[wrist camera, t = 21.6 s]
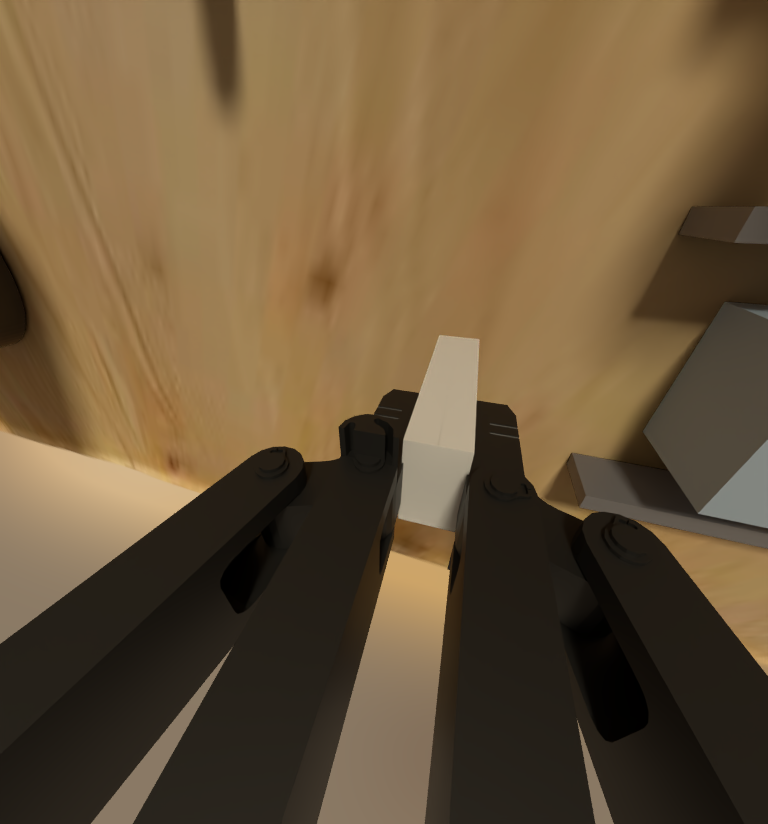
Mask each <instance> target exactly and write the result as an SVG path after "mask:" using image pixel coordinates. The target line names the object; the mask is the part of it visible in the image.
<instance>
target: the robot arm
mask: <svg viewBox="0 0 768 824" xmlns="http://www.w3.org/2000/svg"><path fill="white" fill-rule="evenodd" d="M25 325H26V321H25V312H24V308H23V304H22V300H21V297H20V294H19V292H18V289H17V287H16V284H15V282H14V280H13V278H12V276H11V274H10V272H9V270H8V268H7V266H6V264H5V262H4V260H3V259H2V257H1V255H0V347H4V346H7V345H11V344H14V343H16V342H18V341H19V340H20V339H21V338H22V337H23V335H24V332H25ZM478 358H479V339H472V338H462V337H453V336H444V335H439V338H438V341H437V344H436V347H435V350H434V352H433V355H432V358H431V361H430V364H429V367H428V370H427V373H426V376H425V378H424V381H423V384H422V387H421V390H420V393H415V392H409V391H402V390H395V389H393V390H392V391H390V392H389V393H388V394H386V395H385V396H383V398H382V400H381V402H380V404H379V406H378V407H377V409H376V411H375V413H374V415H371V414H364V415H359V416H354V417H352V418H350V419H348V420H345V421H344V422H343V423H342V424H341V425H340V426H339V437H340V448H341V457H340V458H339V459H336V460H331V461H322V462H304V460H303V458H302V455H301V454H300V453H299V452H298V451H296V450H295V449H293V448H289V447H272V448H268V449H265V450H261V451H260V452H258V453H256V454H254V455H253V456H251V457H250V458H248V459H247V460H246V461H244V462H243V463H242V464H240V465H239V466H238V467H236V468H235V469H234V470H232V471H231V472H230V473H228V474H227V475H226V476H224V477H223V478H222V479H220V480H219V481H218V482H216V483H215V484H214V485H212V486H211V487H210V488H208V489H207V490H206V491H204V492H203V493H202V494H200V495H199V496H198V497H196V498H195V499H194V500H192V501H191V502H190V503H188V504H187V505H186V506H184V507H183V508H182V509H180V510H179V511H177V512H176V513H175V514H174V515H172V516H171V517H170V518H168V519H167V520H165V521H164V522H163V523H161V524H160V525H159V526H157V527H156V528H155V529H153V530H152V531H151V532H149V533H148V534H147V535H145V536H144V537H143V538H141V539H140V540H139V541H137V542H136V543H135V544H133V545H132V546H131V547H129V548H128V549H127V550H125V551H124V552H123V553H121V554H120V555H119V556H117V557H116V558H115V559H113V560H112V561H111V562H109V563H108V564H107V565H105V566H104V567H103V568H101V569H100V570H99V571H97V572H96V573H95V574H93V575H92V576H91V577H90V578H88V579H87V580H85V581H84V582H83V583H81V584H80V585H79V586H77V587H76V588H75V589H73V590H72V591H71V592H69V593H68V594H67V595H65V596H64V597H63V598H61V599H60V600H59V601H57V602H56V603H55V604H53V605H52V606H51V607H49V608H48V609H46V610H45V611H44V612H42V613H41V614H40V615H39V616H37V617H36V618H34V619H33V620H32V621H30V622H29V623H28V624H27V625H25V626H24V627H23V628H21V629H20V630H18V631H17V632H16V633H14V634H13V635H12V636H10V637H9V638H8V639H6V640H5V641H4V642H2V643H1V644H0V824H91V822H92V821H93V820H94V819H95V817H96V816H97V815H98V814H99V812H100V811H101V810H102V809H103V807H104V806H105V805H106V804H107V802H108V801H109V800H110V799H111V798H112V796H113V795H114V794H115V793H116V791H117V790H118V789H119V788H120V786H121V785H122V784H123V783H124V781H125V780H126V779H127V778H128V776H129V775H130V774H131V773H132V771H133V770H134V769H135V768H136V766H137V765H138V764H139V763H140V761H141V760H142V759H143V758H144V756H145V755H146V754H147V753H148V751H149V750H150V749H151V748H152V746H153V745H154V744H155V743H156V741H157V740H158V739H159V738H160V736H161V735H162V734H163V733H164V732H165V730H166V729H167V728H168V726H169V725H170V724H171V723H172V722H173V720H174V719H175V718H176V717H177V715H178V714H179V713H180V712H181V710H182V709H183V708H184V707H185V705H186V704H187V703H188V702H189V700H190V699H191V698H192V697H193V695H194V694H195V693H196V692H197V690H198V689H199V688H200V687H201V685H202V684H203V683H204V682H205V680H206V679H207V678H208V677H209V676H210V674H211V673H212V672H213V670H214V669H215V668H216V667H217V665H218V664H219V663H220V662H221V661H222V659H223V658H224V657H225V656H226V654H227V653H228V652H229V651H230V649H231V648H232V647H233V648H232V650H231V652H230V653H229V655H228V657H227V659H226V660H225V662H224V664H223V665H222V667H221V669H220V671H219V673H218V674H217V676H216V678H215V680H214V681H213V684H212V685H211V687H210V689H209V690H208V692H207V694H206V696H205V697H204V699H203V701H202V703H201V705H200V706H199V708H198V710H197V711H196V713H195V715H194V717H193V719H192V720H191V722H190V724H189V726H188V727H187V729H186V731H185V733H184V734H183V736H182V738H181V740H180V741H179V743H178V745H177V747H176V748H175V750H174V752H173V754H172V756H171V757H170V759H169V761H168V763H167V764H166V766H165V768H164V770H163V772H162V773H161V775H160V777H159V779H158V780H157V782H156V784H155V786H154V787H153V789H152V791H151V793H150V795H149V796H148V798H147V800H146V801H145V803H144V805H143V807H142V809H141V811H140V812H139V814H138V816H137V817H136V819H135V821H134V823H133V824H317V820H318V816H319V813H320V809H321V806H322V802H323V798H324V794H325V791H326V787H327V783H328V779H329V776H330V772H331V768H332V765H333V761H334V757H335V754H336V750H337V746H338V743H339V739H340V735H341V732H342V728H343V724H344V720H345V717H346V713H347V709H348V706H349V701H350V698H351V694H352V691H353V687H354V683H355V680H356V675H357V672H358V669H359V665H360V661H361V657H362V654H363V650H364V646H365V643H366V639H367V635H368V632H369V628H370V624H371V620H372V617H373V613H374V609H375V605H376V602H377V598H378V594H379V591H380V587H381V583H382V580H383V576H384V572H385V569H386V565H387V561H388V557H389V554H390V550H391V546H392V543H393V539H394V526H395V522H396V518H397V515H398V518H399V519H403V520H407V521H411V522H415V523H419V524H423V525H428V526H432V527H436V528H440V529H444V530H448V531H452V532H455V530H456V533H455V541H454V545H453V549H452V553H451V557H450V561H449V565H448V570H450V575H449V585H448V595H447V605H446V615H445V625H444V635H443V646H442V657H441V666H440V677H439V687H438V696H437V706H436V717H435V726H434V727H435V728H434V736H433V746H432V757H431V767H430V777H429V787H428V797H427V808H426V817H425V824H595V820H594V814H593V808H592V803H591V797H590V791H589V786H588V780H587V774H586V769H585V764H584V757H583V751H582V746H581V740H580V735H579V729H578V723H579V726H580V728H581V731H582V734H583V737H584V739H585V743H586V745H587V748H588V751H589V754H590V757H591V760H592V762H593V765H594V768H595V771H596V774H597V776H598V779H599V782H600V785H601V788H602V791H603V794H604V797H605V799H606V802H607V805H608V808H609V811H610V814H611V817H612V819H613V822H614V824H768V676H767V675H766V673H765V672H764V671H763V670H762V668H761V667H760V666H759V664H758V663H757V662H756V661H755V659H754V658H753V657H752V655H751V654H750V653H749V652H748V650H747V649H746V648H745V647H744V645H743V644H742V643H741V641H740V640H739V639H738V638H737V636H736V635H735V634H734V633H733V631H732V630H731V629H730V627H729V626H728V625H727V624H726V622H725V621H724V620H723V619H722V617H721V616H720V615H719V613H718V612H717V611H716V610H715V608H714V607H713V606H712V605H711V603H710V602H709V601H708V599H707V598H706V597H705V596H704V594H703V593H702V592H701V590H700V589H699V588H698V587H697V585H696V584H695V583H694V582H693V580H692V579H691V578H690V576H689V575H688V574H687V573H686V571H685V570H684V569H683V568H682V566H681V565H680V564H679V562H678V561H677V560H676V559H675V557H674V556H673V555H672V554H671V552H670V551H669V550H668V548H667V547H666V546H665V545H664V544H663V543H662V542H661V541H660V540H659V539H658V538H657V537H656V536H655V535H654V534H653V533H652V532H651V531H649V530H648V529H646V528H645V527H644V526H642V525H641V524H639V523H638V522H636V521H634V520H631V519H629V518H627V517H624V516H622V515H620V514H615V513H609V512H598V513H592V514H590V515H589V516H588V517H587V518H585V519H584V521H582V520H580V519H578V518H576V517H574V516H571V515H569V514H567V513H565V512H562V511H560V510H558V509H556V508H554V507H552V506H551V505H549V504H547V503H546V502H544V501H543V500H542V499H540V498H539V497H538V495H537V493H536V491H535V488H534V486H533V485H532V484H531V483H530V482H529V481H528V480H527V479H526V477H525V475H524V469H523V462H522V455H521V448H520V441H519V434H518V429H517V420H516V415H515V414H514V413H513V412H512V410H511V409H510V408H509V407H508V405H503V404H496V403H490V402H483V401H477V381H478ZM398 511H399V512H398ZM577 720H578V723H577Z"/></svg>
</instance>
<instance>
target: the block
mask: <svg viewBox="0 0 768 824" xmlns="http://www.w3.org/2000/svg"><path fill="white" fill-rule="evenodd" d="M643 433H644V434H645V436H646V437H647V439H648V440H649V442H650V443H651V445H652V446H653V448H654V449H655V451H656V452H657V454H658V455H659V457H660V458H661V460H662V461H663V463H664V464H665V465H666V467H667V468H668V470H669V471H670V473H671V474H672V476H673V477H674V479H675V480H676V482H677V483H678V485H679V486H680V488H681V489H682V491H683V492H684V494H685V495H686V497H687V498H688V500H689V501H690V503H691V504H692V506H693V507H694V509H695V510H696V512H697V513H698V514H702V515H707V516H712V517H717V518H721V519H726V520H731V521H736V522H741V523H745V524H750V525H755V526H760V527H764V528H768V305H762V304H749V303H736V302H724V304H723V305H722V307H721V308H720V310H719V311H718V313H717V315H716V316H715V318H714V319H713V321H712V323H711V324H710V326H709V327H708V329H707V330H706V332H705V334H704V335H703V337H702V338H701V340H700V342H699V343H698V345H697V346H696V348H695V349H694V351H693V353H692V354H691V356H690V357H689V359H688V361H687V362H686V364H685V365H684V367H683V368H682V370H681V372H680V373H679V375H678V376H677V378H676V379H675V381H674V383H673V384H672V386H671V387H670V389H669V391H668V392H667V394H666V395H665V397H664V398H663V400H662V402H661V403H660V405H659V406H658V408H657V410H656V411H655V413H654V414H653V416H652V417H651V419H650V421H649V422H648V424H647V425H646V427H645V429H644V430H643Z"/></svg>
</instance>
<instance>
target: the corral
mask: <svg viewBox="0 0 768 824" xmlns="http://www.w3.org/2000/svg"><path fill="white" fill-rule="evenodd" d="M679 235H684V236H691V237H698V238H704V239H711V240H718V241H725V242H732V243H752V244H768V207H764V206H720V207H692V208H691V210H690V212H689V214H688V216H687V218H686V220H685V222H684V224H683V226H682V228H681V231H680V233H679ZM567 467H568V470H569V474H570V477H571V480H572V484H573V487H574V491H575V494H576V497H577V501H578V504H579V507H581V508H585V509H590V510H594V511H599V512H609V513H615V514H620V515H622V516H624V517H627V518H631V519H635V520H640V521H644V522H649V523H653V524H658V525H662V526H667V527H671V528H676V529H681V530H685V531H690V532H694V533H699V534H703V535H708V536H712V537H717V538H721V539H726V540H731V541H735V542H740V543H744V544H749V545H753V546H758V547H762V548H767V549H768V528H764V527H760V526H755V525H750V524H745V523H741V522H736V521H731V520H726V519H721V518H717V517H712V516H707V515H702V514H698V513H697V512H696V510H695V509H694V507H693V506H692V504H691V503H690V501H689V500H688V498H687V497H686V495H685V494H684V492H683V491H682V489H681V488H680V486H679V485H678V483H677V482H676V480H675V479H674V477H673V476H672V474H671V473H670V471H668V470H662V469H657V468H651V467H646V466H640V465H635V464H630V463H624V462H619V461H613V460H608V459H603V458H597V457H592V456H586V455H581V454H575V453H572V454H571V456H570V458H569V460H568V462H567Z"/></svg>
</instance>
